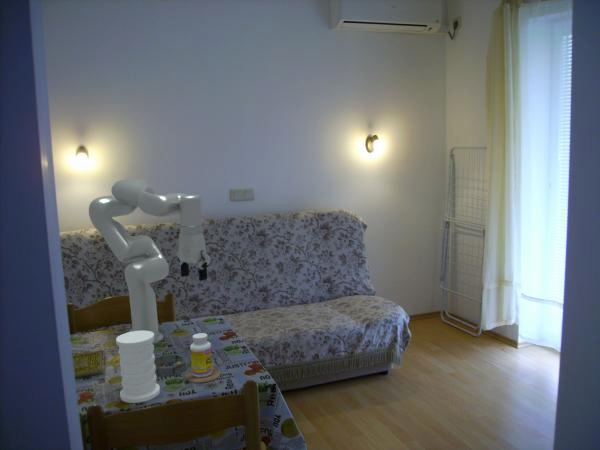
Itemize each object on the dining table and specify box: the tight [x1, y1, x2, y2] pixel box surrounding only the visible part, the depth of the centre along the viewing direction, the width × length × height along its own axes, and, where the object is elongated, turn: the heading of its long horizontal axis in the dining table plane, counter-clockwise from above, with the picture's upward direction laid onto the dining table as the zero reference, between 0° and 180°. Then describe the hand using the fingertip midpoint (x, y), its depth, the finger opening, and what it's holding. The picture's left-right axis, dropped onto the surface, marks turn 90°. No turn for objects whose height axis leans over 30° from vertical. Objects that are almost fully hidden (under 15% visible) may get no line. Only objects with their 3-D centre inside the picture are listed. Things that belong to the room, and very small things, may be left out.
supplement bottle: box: [189, 332, 214, 377], centre depth 172 cm, size 7×7×13 cm
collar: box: [154, 353, 188, 377], centre depth 180 cm, size 12×12×3 cm
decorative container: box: [115, 331, 161, 404], centre depth 160 cm, size 12×12×18 cm
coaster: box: [185, 367, 221, 384], centre depth 173 cm, size 11×11×1 cm
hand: (194, 277), depth 190 cm, fingers open, 9 cm apart
